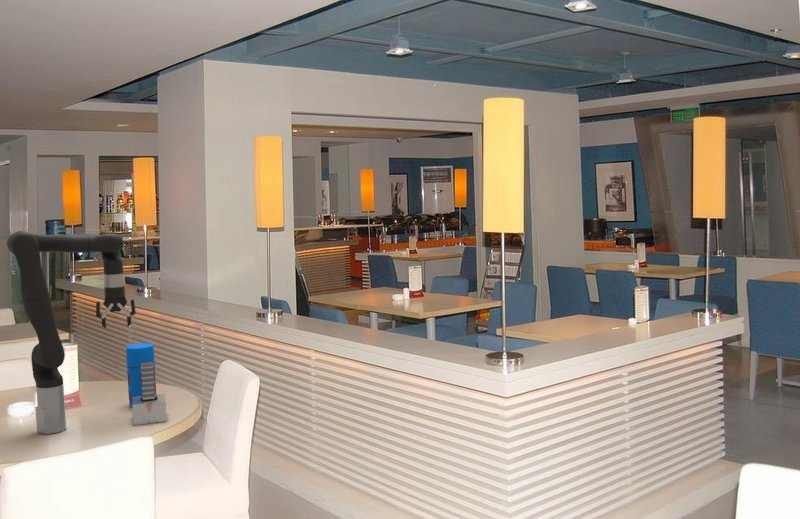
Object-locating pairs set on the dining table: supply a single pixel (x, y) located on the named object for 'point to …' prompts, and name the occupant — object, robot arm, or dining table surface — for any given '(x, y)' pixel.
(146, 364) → the column
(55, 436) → the dining table surface
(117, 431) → the dining table surface
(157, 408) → the housing
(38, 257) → the robot arm
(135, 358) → the thermos
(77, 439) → the dining table surface
